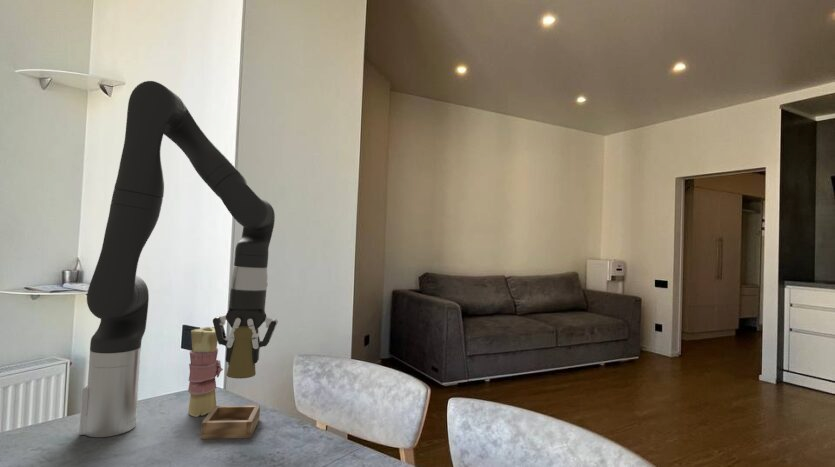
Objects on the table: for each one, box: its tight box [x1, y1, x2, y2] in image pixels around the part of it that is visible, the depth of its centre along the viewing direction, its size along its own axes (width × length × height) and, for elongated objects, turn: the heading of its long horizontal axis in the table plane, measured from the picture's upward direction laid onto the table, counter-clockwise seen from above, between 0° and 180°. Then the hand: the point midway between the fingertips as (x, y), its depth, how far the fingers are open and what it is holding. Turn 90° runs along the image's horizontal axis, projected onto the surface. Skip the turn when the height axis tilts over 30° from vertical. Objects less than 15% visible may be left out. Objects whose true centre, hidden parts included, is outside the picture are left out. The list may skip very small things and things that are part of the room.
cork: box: [226, 326, 257, 380], centre depth 99 cm, size 6×6×11 cm
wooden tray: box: [200, 404, 261, 440], centre depth 99 cm, size 10×10×3 cm
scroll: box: [187, 326, 224, 418], centre depth 109 cm, size 8×8×20 cm
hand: (242, 364), depth 99 cm, fingers closed on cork, 4 cm apart
